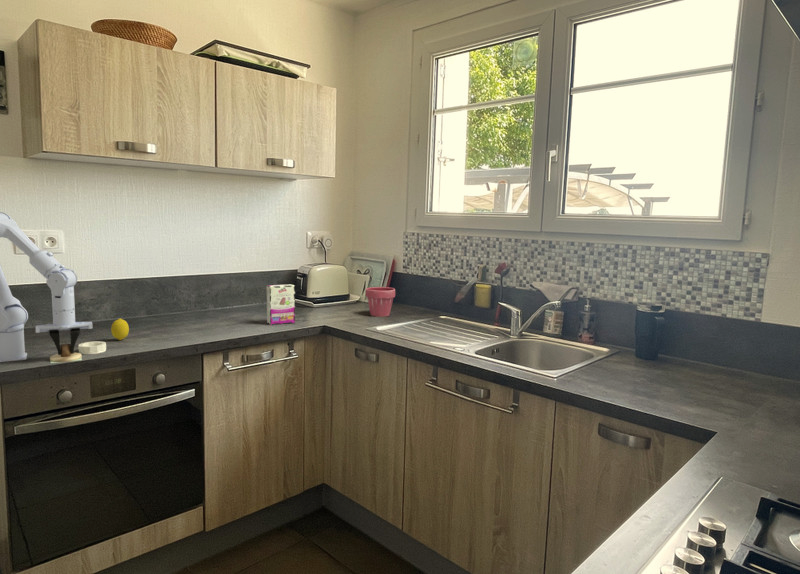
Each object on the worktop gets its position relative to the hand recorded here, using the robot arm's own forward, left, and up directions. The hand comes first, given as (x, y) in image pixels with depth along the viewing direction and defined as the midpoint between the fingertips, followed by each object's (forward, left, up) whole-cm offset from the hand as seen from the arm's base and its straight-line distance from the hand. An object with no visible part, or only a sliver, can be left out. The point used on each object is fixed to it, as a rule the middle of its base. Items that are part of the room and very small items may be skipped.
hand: (65, 353), depth 163 cm
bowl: (+8, +6, -2) cm, 10 cm away
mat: (0, 0, -2) cm, 2 cm away
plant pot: (+128, +26, -2) cm, 131 cm away
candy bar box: (+79, +27, -2) cm, 84 cm away
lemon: (+17, +20, -2) cm, 26 cm away
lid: (0, 0, -2) cm, 2 cm away
